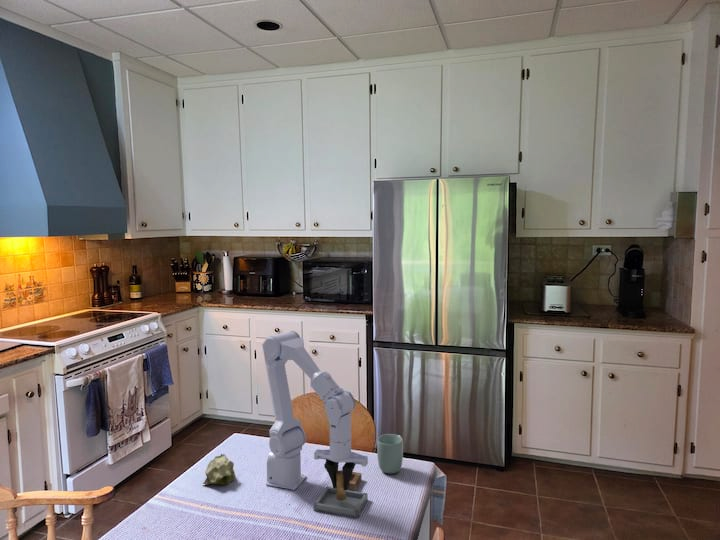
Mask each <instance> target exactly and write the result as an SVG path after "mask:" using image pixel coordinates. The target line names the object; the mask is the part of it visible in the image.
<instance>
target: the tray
mask: <svg viewBox="0 0 720 540" xmlns="http://www.w3.org/2000/svg"><path fill="white" fill-rule="evenodd" d="M367 501H368V493H366V492H362V491H356V490H355V491H353V490H346V499H345V500H342V501H340V500H337V499H336V489H334V488H333V487H329V486H326V487H325V488H324V490H323V491H322V492H321V494H320V495H319V496H318V498H317V499H316V501H315V502H314V503H313V511H315V512H319V513H325V514H331V515H336V516H342V517H347V518H353V519H358V518H359V516H360V515H361V513H362V511H363V509H364V507H365V505H366V503H367Z"/></svg>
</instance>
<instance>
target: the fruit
mask: <svg viewBox="0 0 720 540" xmlns="http://www.w3.org/2000/svg"><path fill="white" fill-rule="evenodd" d="M234 465H235V464H234V462H233V461H231V460H229V458H228V456H227V455H226V454H225V453H220V455H217V456H214V458H213V459H212V460H210V461H209V463H208V465H207V467H206V470H205V471H204V473H205V477H206V478H205V480H204V482H203V483H202V484H205V485H204V486H206V485H209V484H214V485H220V486H221V485H223V486H224V485H225V486H227V485H230V484H231V483H233V482H234V481H235V479H236V474H235V473H236V472H235V469H234ZM229 483H230V484H229Z"/></svg>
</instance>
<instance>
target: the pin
mask: <svg viewBox="0 0 720 540" xmlns="http://www.w3.org/2000/svg"><path fill="white" fill-rule="evenodd" d="M336 499H337V500H340V501H342V500H345V499H346V490H344V476H343V470H342V469H341V470H338V471H337V472H336Z"/></svg>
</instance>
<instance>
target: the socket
mask: <svg viewBox="0 0 720 540" xmlns="http://www.w3.org/2000/svg"><path fill="white" fill-rule="evenodd" d="M361 481H362V473H361V472H355V471H353V472H352V475H351V478H350V483H349V488H348V489H347V490H349V491H356V489H357V488H358V486H359V485H360V483H361Z"/></svg>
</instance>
